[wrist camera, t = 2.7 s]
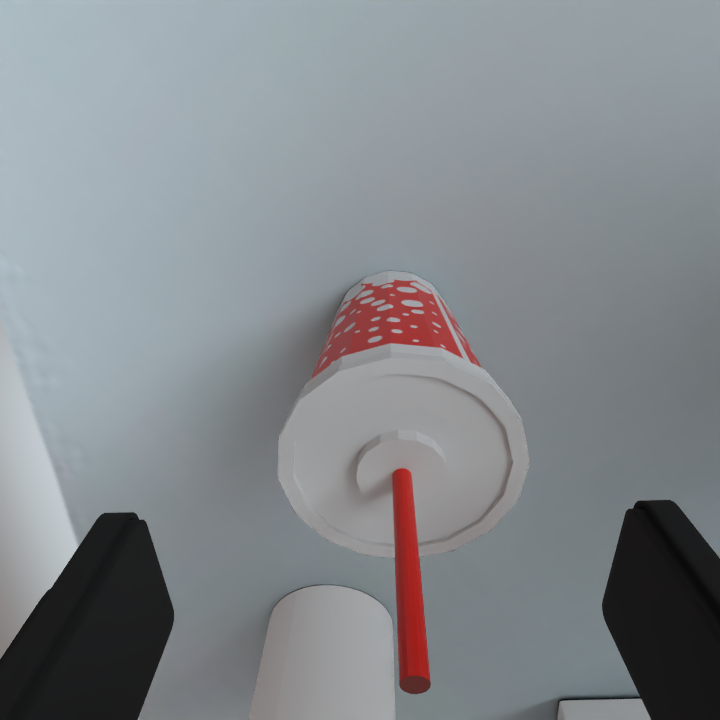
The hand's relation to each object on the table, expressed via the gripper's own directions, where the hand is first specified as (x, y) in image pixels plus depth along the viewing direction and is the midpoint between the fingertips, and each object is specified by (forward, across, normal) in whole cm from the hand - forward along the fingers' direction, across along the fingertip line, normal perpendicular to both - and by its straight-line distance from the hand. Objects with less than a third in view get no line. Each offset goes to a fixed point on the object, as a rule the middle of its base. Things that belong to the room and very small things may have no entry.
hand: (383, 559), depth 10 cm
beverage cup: (+12, -1, 0) cm, 12 cm away
